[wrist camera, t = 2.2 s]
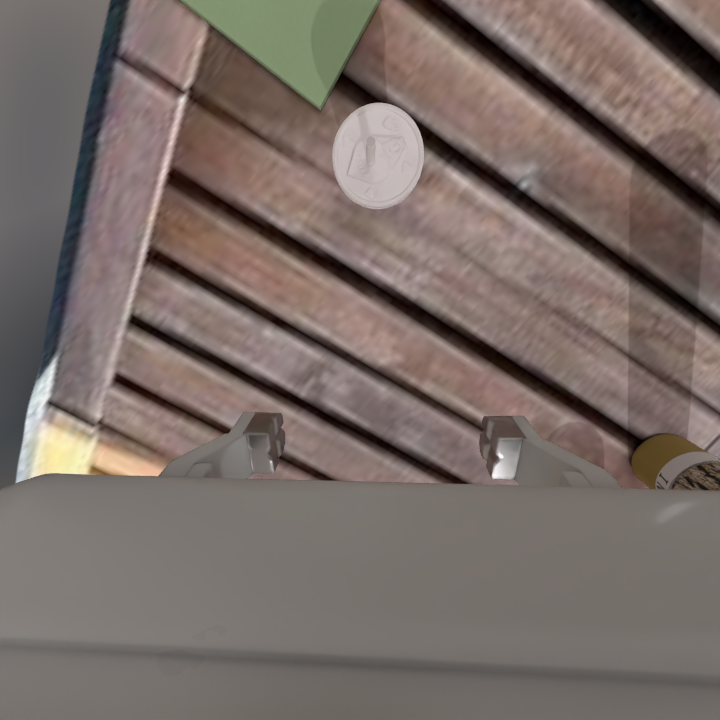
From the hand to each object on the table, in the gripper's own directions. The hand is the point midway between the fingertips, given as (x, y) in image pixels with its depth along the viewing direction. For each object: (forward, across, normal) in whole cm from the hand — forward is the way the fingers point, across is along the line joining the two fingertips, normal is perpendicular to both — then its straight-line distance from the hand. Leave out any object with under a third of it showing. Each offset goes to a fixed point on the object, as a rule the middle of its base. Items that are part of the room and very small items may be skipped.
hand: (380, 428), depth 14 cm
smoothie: (+25, 0, -11) cm, 27 cm away
